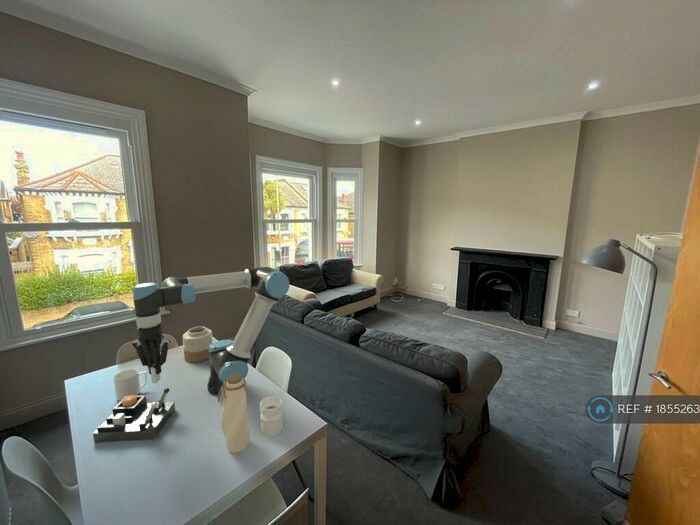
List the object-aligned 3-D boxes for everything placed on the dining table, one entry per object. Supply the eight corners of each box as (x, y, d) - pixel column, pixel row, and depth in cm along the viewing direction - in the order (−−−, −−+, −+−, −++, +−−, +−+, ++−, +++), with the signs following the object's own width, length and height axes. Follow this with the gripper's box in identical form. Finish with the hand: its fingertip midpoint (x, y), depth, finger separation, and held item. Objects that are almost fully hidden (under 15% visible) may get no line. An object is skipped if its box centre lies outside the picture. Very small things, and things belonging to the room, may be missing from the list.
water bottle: (222, 459, 100) (217, 388, 95) (220, 441, 108) (215, 374, 103) (252, 449, 105) (249, 380, 100) (248, 432, 113) (245, 367, 108)
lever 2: (164, 403, 121) (171, 387, 120) (160, 408, 118) (168, 391, 117) (159, 402, 120) (166, 385, 119) (155, 406, 118) (163, 389, 117)
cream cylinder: (259, 424, 117) (258, 398, 115) (280, 419, 120) (280, 393, 118) (261, 440, 109) (260, 412, 107) (284, 433, 113) (284, 406, 110)
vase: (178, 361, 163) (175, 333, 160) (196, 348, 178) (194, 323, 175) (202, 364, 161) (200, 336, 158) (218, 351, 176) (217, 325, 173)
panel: (175, 409, 125) (174, 393, 123) (154, 439, 108) (152, 421, 107) (123, 411, 122) (121, 396, 121) (94, 442, 106) (91, 425, 105)
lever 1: (152, 418, 112) (159, 401, 111) (148, 424, 109) (155, 406, 108) (147, 417, 112) (154, 399, 111) (142, 422, 109) (150, 404, 108)
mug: (117, 405, 126) (114, 382, 124) (115, 395, 133) (112, 373, 131) (150, 393, 134) (147, 372, 132) (146, 385, 141) (144, 364, 139)
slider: (125, 422, 111) (124, 413, 110) (120, 427, 108) (119, 418, 108) (118, 422, 111) (117, 413, 110) (113, 428, 108) (112, 418, 107)
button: (140, 403, 121) (139, 394, 120) (133, 411, 116) (131, 402, 115) (127, 403, 120) (126, 395, 119) (120, 411, 115) (119, 403, 115)
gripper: (173, 320, 111) (178, 375, 115) (138, 320, 110) (145, 375, 114) (161, 328, 103) (168, 386, 108) (124, 328, 103) (132, 387, 107)
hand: (156, 381), depth 111 cm, fingers closed
